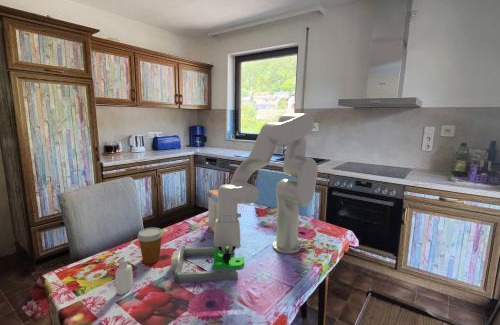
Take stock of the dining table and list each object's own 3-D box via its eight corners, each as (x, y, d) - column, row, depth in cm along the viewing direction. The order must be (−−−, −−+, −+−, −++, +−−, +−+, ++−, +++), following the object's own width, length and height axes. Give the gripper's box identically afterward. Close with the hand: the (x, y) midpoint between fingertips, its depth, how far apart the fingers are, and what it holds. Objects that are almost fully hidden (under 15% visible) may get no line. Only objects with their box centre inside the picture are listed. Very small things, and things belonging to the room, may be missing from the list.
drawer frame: (234, 252, 114) (234, 241, 113) (237, 279, 94) (237, 266, 94) (176, 255, 111) (176, 243, 110) (167, 283, 91) (167, 269, 91)
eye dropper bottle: (113, 290, 87) (111, 256, 85) (131, 283, 91) (129, 251, 89) (118, 296, 84) (115, 262, 82) (136, 289, 88) (134, 256, 86)
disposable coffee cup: (157, 251, 113) (156, 225, 112) (167, 260, 107) (166, 232, 105) (134, 259, 107) (133, 231, 105) (144, 268, 100) (143, 239, 98)
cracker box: (228, 236, 130) (229, 195, 127) (217, 238, 127) (217, 196, 124) (218, 226, 142) (218, 188, 139) (208, 228, 139) (207, 189, 136)
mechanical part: (213, 270, 101) (213, 251, 100) (214, 262, 107) (214, 244, 106) (244, 270, 102) (244, 250, 101) (243, 261, 108) (244, 243, 106)
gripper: (245, 213, 105) (244, 256, 108) (208, 214, 103) (207, 257, 106) (247, 220, 98) (246, 266, 100) (207, 221, 96) (207, 267, 98)
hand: (226, 261), depth 103 cm, fingers closed
